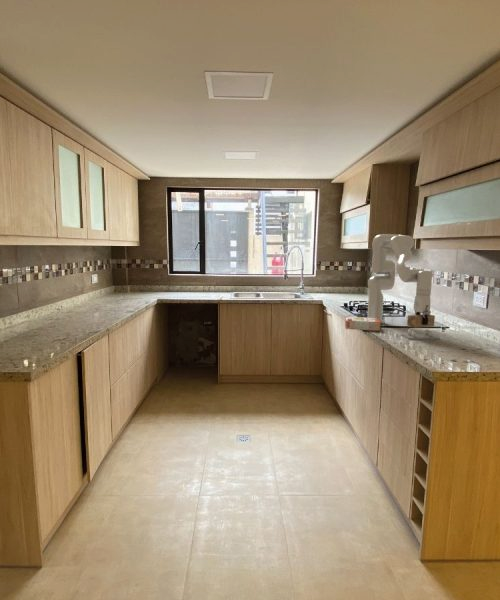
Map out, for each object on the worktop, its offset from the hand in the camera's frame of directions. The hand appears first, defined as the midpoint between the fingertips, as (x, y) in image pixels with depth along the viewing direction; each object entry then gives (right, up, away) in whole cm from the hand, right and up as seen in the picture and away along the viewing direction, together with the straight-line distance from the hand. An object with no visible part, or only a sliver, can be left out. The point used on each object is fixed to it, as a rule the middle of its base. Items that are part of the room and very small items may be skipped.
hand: (421, 322), depth 212 cm
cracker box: (-16, -2, +21) cm, 27 cm away
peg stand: (0, -8, +1) cm, 8 cm away
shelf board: (0, -2, 0) cm, 2 cm away
